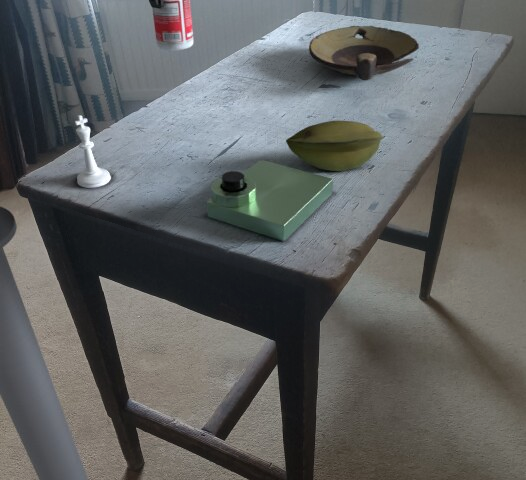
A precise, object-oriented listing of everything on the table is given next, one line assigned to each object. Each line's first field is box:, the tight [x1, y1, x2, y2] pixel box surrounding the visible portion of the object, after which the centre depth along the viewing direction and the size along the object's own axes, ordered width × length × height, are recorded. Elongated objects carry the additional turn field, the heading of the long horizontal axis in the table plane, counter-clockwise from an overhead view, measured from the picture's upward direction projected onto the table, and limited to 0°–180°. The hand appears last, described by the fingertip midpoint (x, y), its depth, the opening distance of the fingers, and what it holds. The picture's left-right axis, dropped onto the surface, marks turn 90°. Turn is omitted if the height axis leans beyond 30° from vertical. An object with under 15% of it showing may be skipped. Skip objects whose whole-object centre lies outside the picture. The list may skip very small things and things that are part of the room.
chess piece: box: [74, 114, 112, 189], centre depth 85 cm, size 5×5×10 cm
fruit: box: [285, 120, 384, 172], centre depth 89 cm, size 11×12×7 cm
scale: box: [206, 159, 334, 242], centre depth 81 cm, size 14×12×4 cm
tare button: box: [221, 170, 245, 192], centre depth 78 cm, size 3×3×2 cm
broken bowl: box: [308, 25, 420, 82], centre depth 120 cm, size 22×30×8 cm
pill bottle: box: [151, 0, 194, 52], centre depth 95 cm, size 6×6×11 cm
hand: (170, 2), depth 94 cm, fingers closed on pill bottle, 6 cm apart
